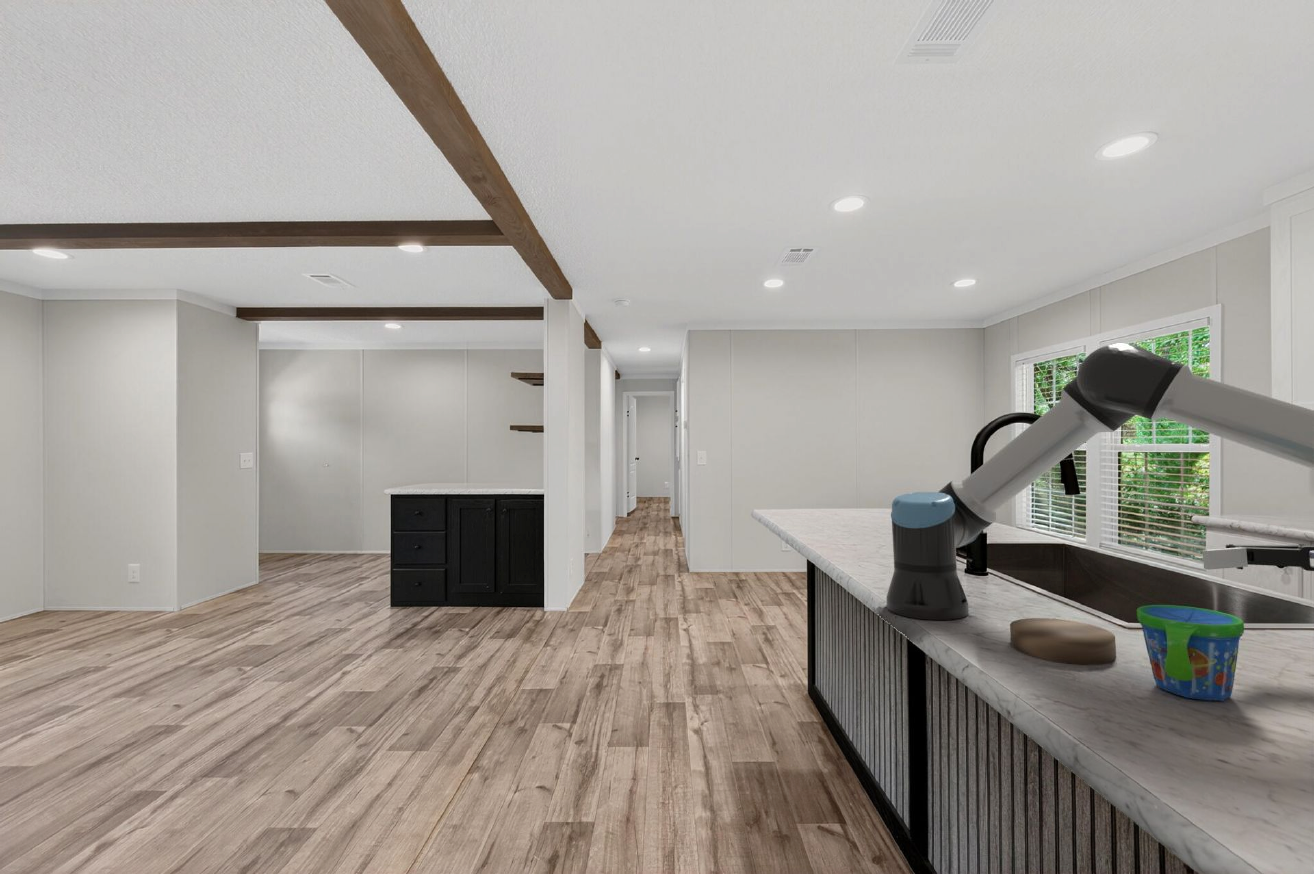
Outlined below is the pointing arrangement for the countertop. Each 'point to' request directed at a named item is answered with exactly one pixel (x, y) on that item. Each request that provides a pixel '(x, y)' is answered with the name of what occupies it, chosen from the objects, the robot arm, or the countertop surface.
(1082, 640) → the walnut pedestal
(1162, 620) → the snack cup
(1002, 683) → the countertop surface
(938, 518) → the robot arm
